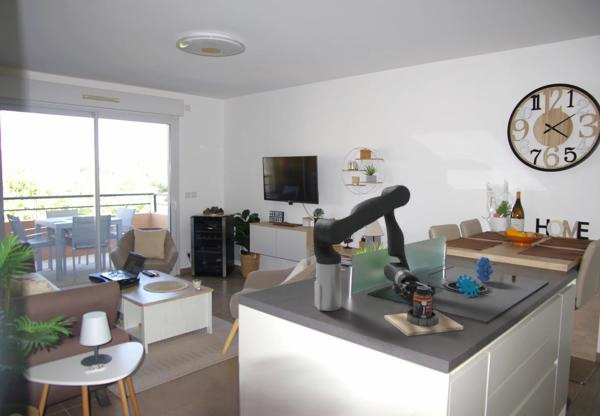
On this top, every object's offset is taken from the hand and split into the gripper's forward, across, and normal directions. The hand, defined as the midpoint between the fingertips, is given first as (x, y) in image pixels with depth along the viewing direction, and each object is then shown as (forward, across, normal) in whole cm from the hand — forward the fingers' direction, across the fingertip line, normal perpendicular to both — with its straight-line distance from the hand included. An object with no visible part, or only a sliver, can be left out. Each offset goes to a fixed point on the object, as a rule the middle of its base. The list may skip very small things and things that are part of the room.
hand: (419, 294), depth 146 cm
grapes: (-44, +43, +9) cm, 62 cm away
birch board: (+4, 0, +9) cm, 10 cm away
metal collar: (+4, 0, +9) cm, 10 cm away
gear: (-27, +28, +9) cm, 40 cm away
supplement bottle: (+4, 0, +8) cm, 9 cm away
